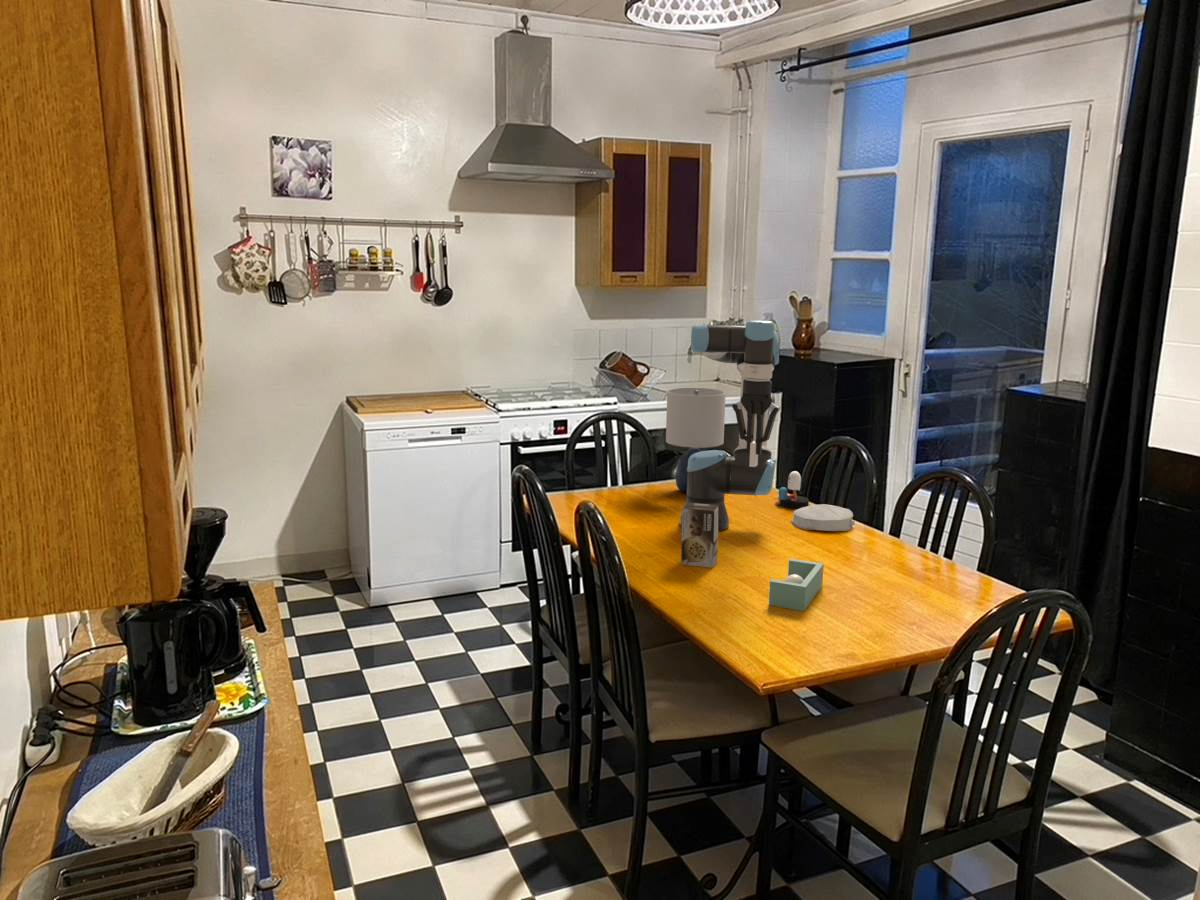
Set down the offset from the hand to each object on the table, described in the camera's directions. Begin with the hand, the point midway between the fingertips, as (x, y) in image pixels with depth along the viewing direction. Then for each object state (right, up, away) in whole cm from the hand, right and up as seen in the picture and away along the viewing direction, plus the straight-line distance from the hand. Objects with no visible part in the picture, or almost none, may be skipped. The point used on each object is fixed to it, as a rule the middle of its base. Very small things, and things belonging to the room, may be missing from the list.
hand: (753, 465), depth 244 cm
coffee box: (-15, -27, +1) cm, 30 cm away
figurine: (+24, -15, +62) cm, 68 cm away
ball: (+6, -29, -22) cm, 37 cm away
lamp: (-8, -11, +78) cm, 79 cm away
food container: (+29, -20, +41) cm, 54 cm away
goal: (+6, -32, -22) cm, 39 cm away
